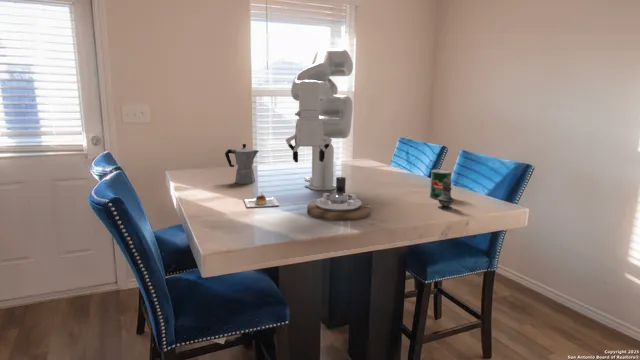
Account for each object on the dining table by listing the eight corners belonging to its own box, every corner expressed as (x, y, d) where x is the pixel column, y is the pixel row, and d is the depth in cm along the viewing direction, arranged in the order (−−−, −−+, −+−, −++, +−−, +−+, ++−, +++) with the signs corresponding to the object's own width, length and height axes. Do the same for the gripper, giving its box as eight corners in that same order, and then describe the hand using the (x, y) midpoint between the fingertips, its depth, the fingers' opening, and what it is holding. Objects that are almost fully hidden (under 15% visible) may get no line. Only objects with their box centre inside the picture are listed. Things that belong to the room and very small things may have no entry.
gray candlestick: (434, 206, 159) (436, 174, 157) (450, 205, 159) (452, 174, 157) (440, 210, 153) (442, 177, 151) (456, 210, 154) (458, 177, 151)
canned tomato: (444, 195, 177) (446, 169, 175) (453, 199, 169) (455, 172, 167) (426, 195, 176) (428, 169, 174) (434, 200, 168) (436, 172, 166)
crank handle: (360, 212, 141) (361, 191, 140) (313, 210, 143) (313, 189, 141) (361, 195, 164) (362, 177, 163) (320, 194, 166) (320, 176, 164)
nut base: (295, 215, 145) (295, 208, 145) (323, 201, 164) (323, 195, 164) (356, 224, 136) (356, 217, 135) (377, 208, 155) (378, 202, 155)
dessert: (246, 209, 153) (246, 197, 152) (243, 202, 164) (243, 189, 164) (279, 207, 156) (279, 195, 155) (274, 200, 168) (274, 188, 167)
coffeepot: (258, 179, 205) (257, 142, 201) (260, 183, 196) (259, 144, 192) (225, 180, 201) (224, 143, 198) (226, 184, 192) (224, 145, 189)
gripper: (288, 115, 149) (287, 163, 152) (334, 115, 153) (334, 162, 156) (283, 114, 156) (283, 161, 159) (328, 115, 161) (328, 160, 164)
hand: (308, 161), depth 158 cm, fingers open, 9 cm apart
